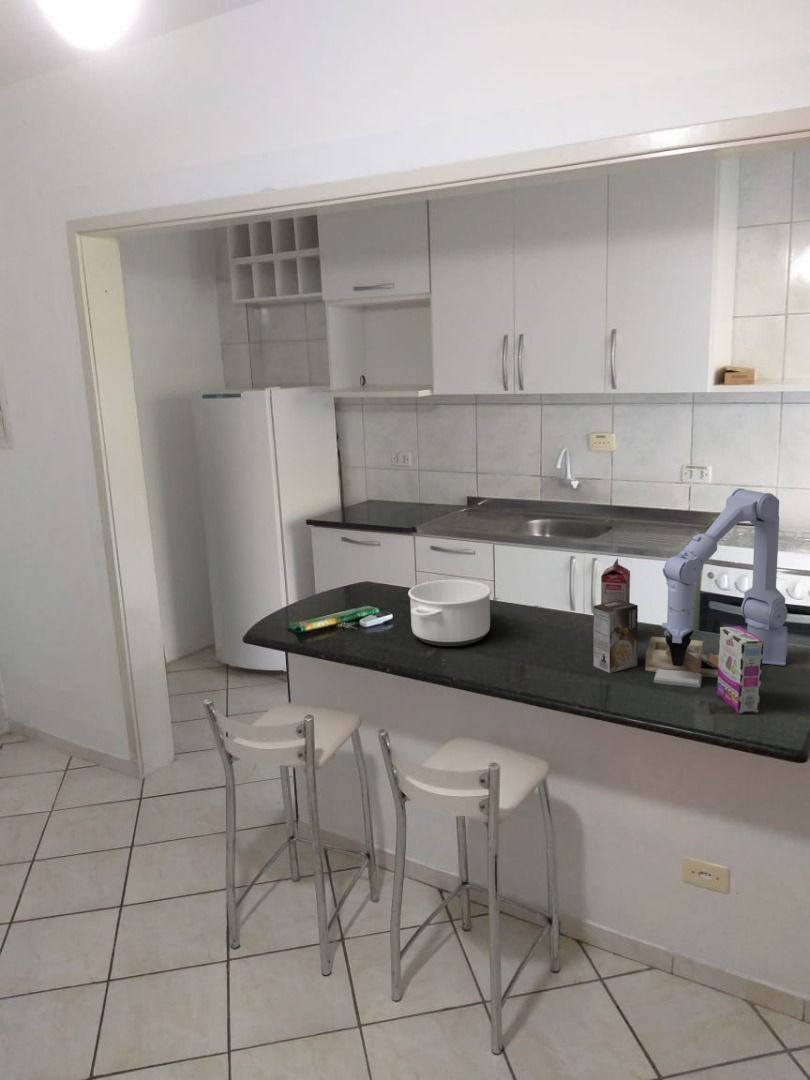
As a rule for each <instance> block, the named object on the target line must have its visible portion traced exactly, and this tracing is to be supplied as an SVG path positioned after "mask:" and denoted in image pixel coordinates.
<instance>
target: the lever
mask: <svg viewBox="0 0 810 1080" xmlns="http://www.w3.org/2000/svg"><path fill="white" fill-rule="evenodd" d="M663 635H664V636H665V637H666V636H670V634H669V632H668V630H667V629H665V630H664V632H663ZM687 651H689V652H690V653H698V651H697V650H696V649H694V648H693V647H692V646H690V645H689V646H688V647H687ZM703 654H704V653H703ZM703 654H702V653H701V660H702V662H704V663H705V664H706V665H708V666H710V667H711V669H712V668H713V670H718V661H719V660H718V659H719V658H718V657H716V656H715V655H716V654H713V653H712V652H710V653H708V654H709V656H708V657H706V656H705V655H703Z"/></svg>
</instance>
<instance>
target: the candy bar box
mask: <svg viewBox="0 0 810 1080" xmlns="http://www.w3.org/2000/svg"><path fill="white" fill-rule="evenodd" d="M718 642H719V645H718V646H719V647H718V655H719V659H718V660H719V661H718V668H717V670H718V678H717V680H716V681H717V682H716V695H717V696H718V698H720V699H721V700H722V701H724V702H725V703H726V704H727V705H728V706H729V707H730V708H731V709H733V710H734V711H735V712H736V713H737V714H740V715H742V714H756V713H759V712H760V701H761V687H762V686H761V685H762V672H763V671H762V669H763V663H762V658H763V643H764V642H763V641H762V640H760V639H759V638H757V637H755V636H754V635H752V634H751V633H749V632H748V631H747V629H745V628H743V627H742V626H741V625H737V626H735V625H733V626H721V627H720V626H719V641H718Z"/></svg>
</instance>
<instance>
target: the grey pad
mask: <svg viewBox="0 0 810 1080" xmlns="http://www.w3.org/2000/svg"><path fill="white" fill-rule="evenodd" d="M702 679H703V676H702V674H700V673H695V674H694V673H693V672H684V671H674V670H664V669H658V670H657V671H656V672H655V674H654V678H653V683H655V684H662V685H672V686H680V687H681V686H682V687H689V688H690V687H692V688H699V689H700V688H701V685H702Z"/></svg>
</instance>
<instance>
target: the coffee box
mask: <svg viewBox="0 0 810 1080" xmlns="http://www.w3.org/2000/svg"><path fill="white" fill-rule="evenodd" d="M592 608H593V667H595V668H597V669H600V670H602V671H604V672H606V673H608V674H612V673H615V672H620V671H624V670H627V669H631V668H634V667H637V666H638V631H639V630H638V629H639V628H638V627H639V626H638V623H639V622H638V621H639V619H638V618H639V617H638V615H639V612H638V609H639V606H638V605H637V604H635V603H631V602H630V603H629V602H626V601H623V600H618V601H613V602H609V603H604V604H601V603H600V604H596V605H593V607H592Z"/></svg>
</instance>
